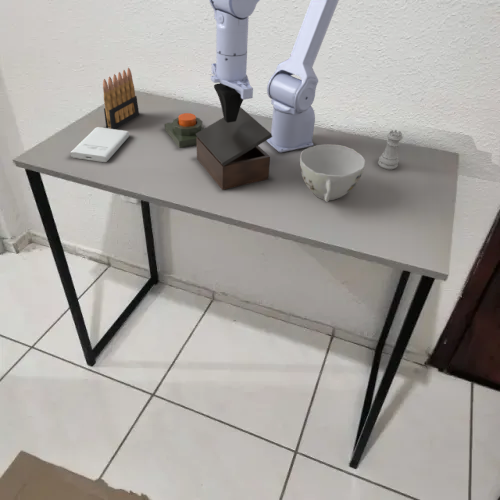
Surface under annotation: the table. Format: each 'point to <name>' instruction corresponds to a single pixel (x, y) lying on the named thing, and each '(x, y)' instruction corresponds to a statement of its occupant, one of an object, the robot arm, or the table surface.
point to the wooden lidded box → (235, 167)
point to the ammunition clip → (119, 100)
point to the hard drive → (100, 144)
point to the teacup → (331, 170)
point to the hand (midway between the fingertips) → (230, 120)
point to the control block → (184, 132)
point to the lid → (233, 137)
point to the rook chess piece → (391, 151)
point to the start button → (187, 119)
